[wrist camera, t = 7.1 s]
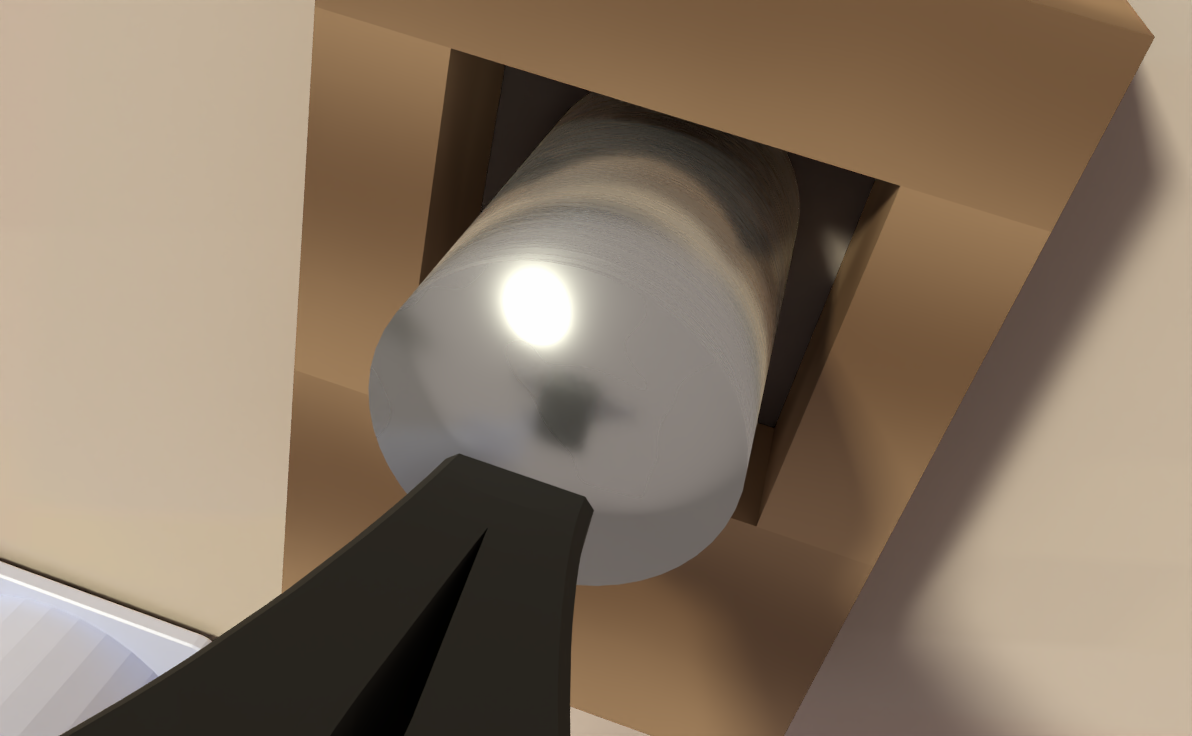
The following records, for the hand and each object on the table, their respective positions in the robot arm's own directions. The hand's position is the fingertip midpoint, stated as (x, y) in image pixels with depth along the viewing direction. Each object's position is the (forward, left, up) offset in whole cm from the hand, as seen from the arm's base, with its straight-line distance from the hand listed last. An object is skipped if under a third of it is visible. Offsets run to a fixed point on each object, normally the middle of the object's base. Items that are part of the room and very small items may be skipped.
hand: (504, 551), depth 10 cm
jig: (-2, 0, -7) cm, 8 cm away
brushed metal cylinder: (0, 0, -7) cm, 7 cm away
